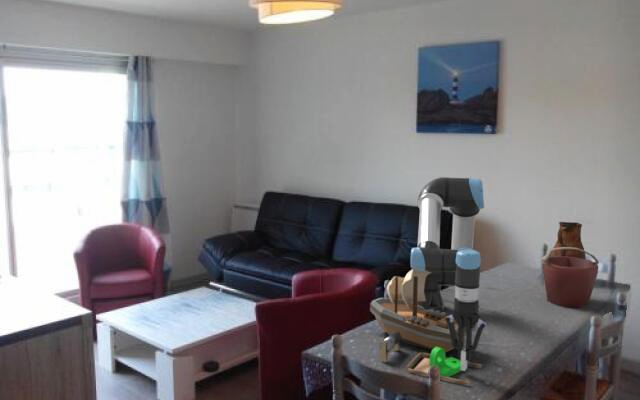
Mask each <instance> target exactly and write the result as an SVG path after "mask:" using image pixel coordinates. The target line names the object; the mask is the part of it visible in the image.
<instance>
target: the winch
mask: <svg viewBox="0 0 640 400" xmlns="http://www.w3.org/2000/svg"><path fill="white" fill-rule="evenodd" d="M401 339H402V337H401V334H400V331H396V330H395V331H394V332H393V333H392V334H391V335H389V334H388V336H387V337H385V338H384V340H383V341H381V342H380V343H379V350H380V351H381V352H380V353H381V354H380V355H381V357H380V362H381V363H387V362H388V357H389V356H388V354H389V352H391V351H392V350H393V351H394V352H399V351H400V342H401Z"/></svg>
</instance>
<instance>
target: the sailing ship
mask: <svg viewBox="0 0 640 400" xmlns="http://www.w3.org/2000/svg"><path fill="white" fill-rule="evenodd" d="M430 273H432V272H428V271H422V270H415V269H412V268H411V270H409V271H408V272H407V273H406V275H405V276H404V277H403V276H402V277H401V276H398V275H395V276H393V277H392V278H391V280H389V282H388V284H387V285H386V293H387V297H388V298H387V297H378V298H376V299H373V300H371V302H370V303H369V311H370V312H371V313H372V315H374V317H375V319H376V321H377V323H378V326H379V327H380V328H381V329H382V330H383V331H384V332H385V333H386V334H388V336H389V335H391V334H392V333H393V332H394V331H395V330H396V331H400V334H401V337H402V339H401V341H400V342H402V343H406V344H409V345H412V346H414V347H418V348H421V349H425V350H428V351H431V352H432V350H433V349H434V348H435V347H439V348H442V349H444V350H445V353H447V352H449V351H452V350H453V349H455V348H456V347H453V346H452V341H451V336H450V331H449V326H448V324H447V322H446V320H445V319H446V317H447V316H445V315H446V314H447V313H446V311H434V309H430V310H425V309H424V308H423V307H421V306H419V305H417V302H418V301H426V299H425V295H424V285H425V279H426V277H427V275H428V274H430ZM412 302H413V303H412ZM478 308H481V306H480V305H479V307H478ZM451 315H452V314H450V315H449V316H451ZM453 322H454V326H455V330H456V335H457V340H458V324H457V323H456V321H455V319H454V321H453ZM476 326H477V323H476V324H475V325H474V326H473V328H472V333H473V332H474V331H477V330H476V328H477V327H476ZM464 343H466V327H464Z"/></svg>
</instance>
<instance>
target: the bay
mask: <svg viewBox="0 0 640 400" xmlns="http://www.w3.org/2000/svg"><path fill="white" fill-rule="evenodd" d="M430 354H431V353H428V352H421V351H419V353H418V354H416V355H415V356H414V357H413V359H412V360H410V362H408V364H407V365H406V366H405V369H406V371H407V374H409V373H410V374H413V375H417V376H421V377H424V378H426V377H427V378H429V377H428V370H429V365H430ZM422 357H423V359H422V360H421V361H420V362H419V363H418V361H419V360H420V359H421V358H422ZM448 358H449V357H447V356H445V360H446V359H448ZM459 360H460V361H461V359H459ZM417 363H418V364H417ZM416 364H417V365H416ZM415 365H416V366H415ZM414 366H415V367H414ZM413 367H414V369H413ZM467 367H470V368H476V369H480V370H481V369H482V364H481V363H475V362H471V361H467ZM439 381H444V382H448V383H453V384H457V385H461V386H466V387H470V383H471V382H470V381H467V380H463V379H457V378H453V377H451V376H450V377H445V376H441V375H440V380H439Z"/></svg>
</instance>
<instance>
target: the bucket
mask: <svg viewBox="0 0 640 400" xmlns="http://www.w3.org/2000/svg"><path fill="white" fill-rule="evenodd" d="M566 249H571V250H579V251H581V252H584V253H585V255H588V256H590V257H591V258H592V259H593V260H594V262H593V261H592V260H591V259H587V258H586V259H581V258H575V257H569V256H563V257H550V256H551V254H552V252H553V251H558V250H566ZM540 261H541V262H542V272H543V273H542V274H543V279H544V280H543V281H544V286H545V293H546V300H547V303H548V302H549V303H551V304H553V305H555V306H558V307H562V308H563V307H564V308H572V309H573V308H574V309H580V308H585V307H587V306H589V303H590V299H591V297H592V293H593V290H594V287H595V284H596V280H597V277H598V273H599V263H600V261H599V259H598V258H596V256H595V255H593V254H592V253H589V252H587V251H586V250H585V249H584V250H581V249H579V248H573V247H559V248H554V247H552V248H549V249H547V252H546V253H545V255H543V256H542V257H541V258H540Z"/></svg>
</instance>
